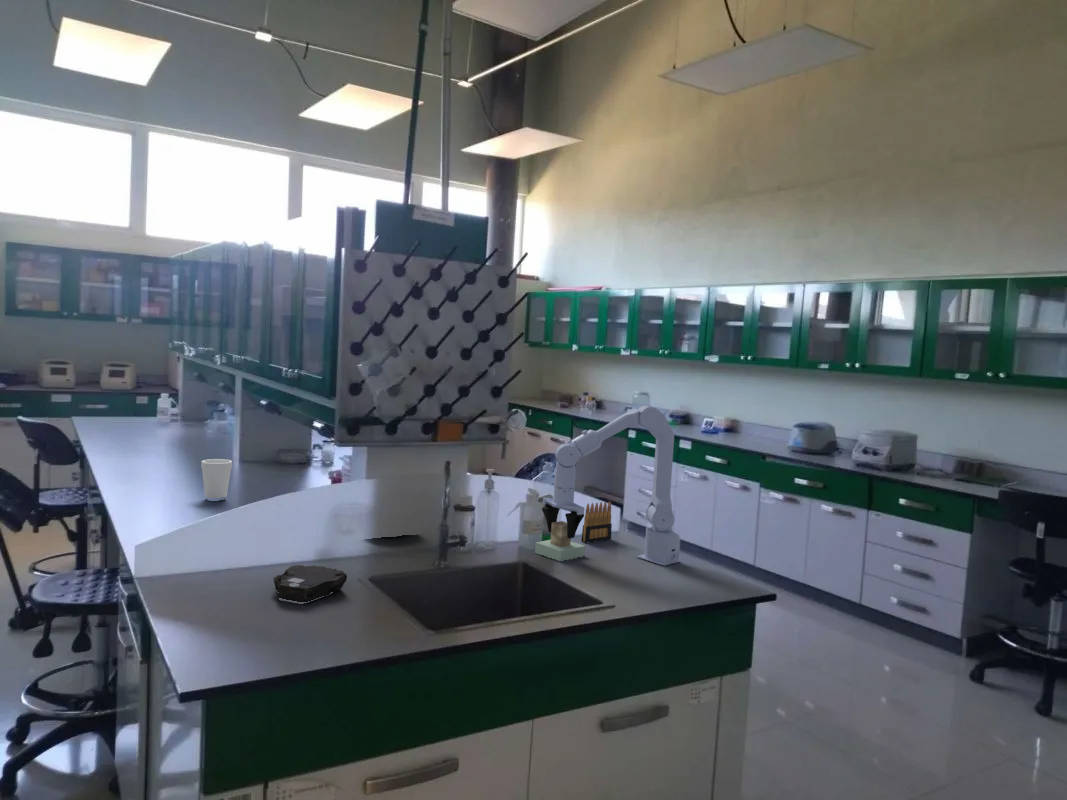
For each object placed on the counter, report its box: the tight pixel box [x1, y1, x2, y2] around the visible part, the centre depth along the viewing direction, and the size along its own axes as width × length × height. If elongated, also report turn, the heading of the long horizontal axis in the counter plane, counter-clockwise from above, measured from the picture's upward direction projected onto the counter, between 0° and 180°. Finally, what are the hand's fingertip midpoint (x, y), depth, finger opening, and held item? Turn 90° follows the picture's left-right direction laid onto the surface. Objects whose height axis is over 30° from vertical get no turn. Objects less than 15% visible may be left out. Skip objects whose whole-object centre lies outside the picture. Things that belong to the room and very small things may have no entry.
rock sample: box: [273, 564, 348, 602], centre depth 171 cm, size 18×16×5 cm
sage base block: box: [534, 539, 586, 562], centre depth 215 cm, size 10×10×3 cm
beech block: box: [550, 520, 572, 547], centre depth 215 cm, size 4×4×6 cm
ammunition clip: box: [581, 500, 613, 544], centre depth 233 cm, size 11×2×12 cm, turn 127°
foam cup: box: [200, 458, 233, 498], centre depth 255 cm, size 10×9×13 cm
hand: (561, 534), depth 215 cm, fingers open, 7 cm apart
